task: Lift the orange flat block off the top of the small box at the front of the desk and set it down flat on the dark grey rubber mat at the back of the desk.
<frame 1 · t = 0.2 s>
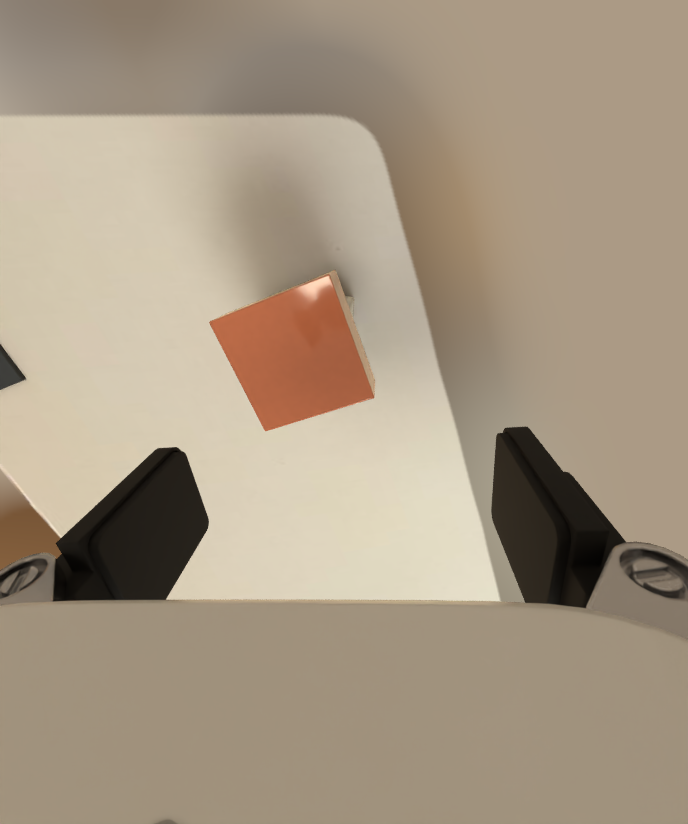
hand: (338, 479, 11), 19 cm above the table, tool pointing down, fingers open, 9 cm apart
orange flat block: (303, 347, 24), point 5 cm above the table
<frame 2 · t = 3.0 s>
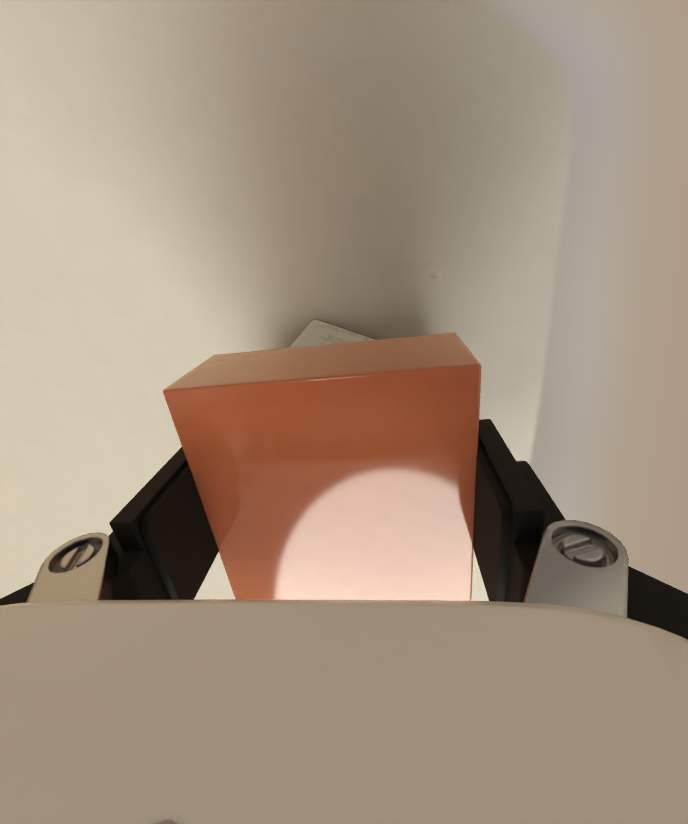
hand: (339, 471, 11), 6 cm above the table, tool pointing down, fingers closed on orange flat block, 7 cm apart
orange flat block: (343, 449, 12), point 5 cm above the table, touching gripper, small box
small box: (353, 392, 17), on the table, touching orange flat block
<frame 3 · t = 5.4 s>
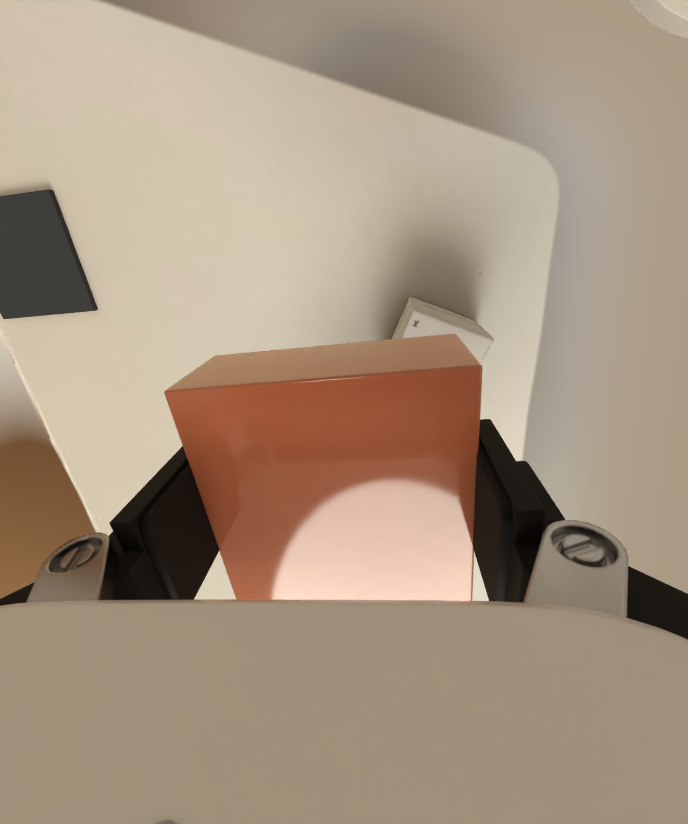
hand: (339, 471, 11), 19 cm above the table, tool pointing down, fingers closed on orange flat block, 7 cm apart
orange flat block: (344, 450, 12), point 18 cm above the table, touching gripper
small box: (427, 342, 28), on the table
mat: (28, 259, 28), on the table
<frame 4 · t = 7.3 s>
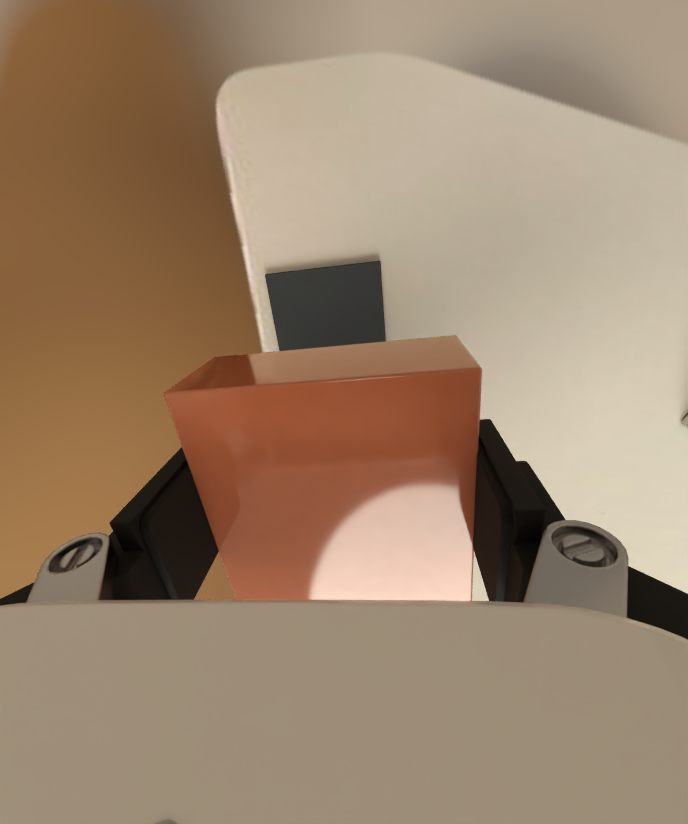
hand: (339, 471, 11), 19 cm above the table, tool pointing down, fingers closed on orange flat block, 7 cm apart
orange flat block: (343, 451, 12), point 17 cm above the table, touching gripper
mat: (329, 325, 28), on the table
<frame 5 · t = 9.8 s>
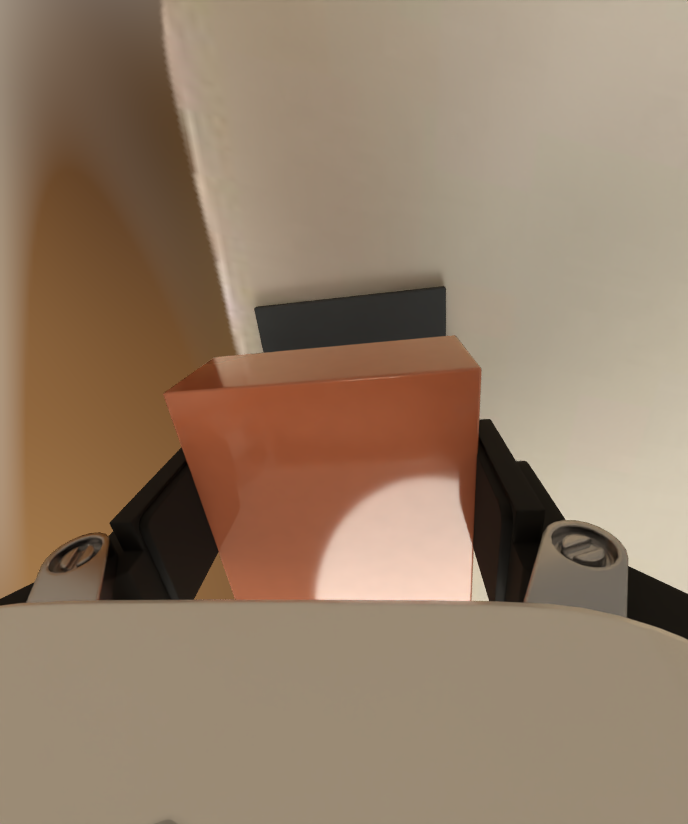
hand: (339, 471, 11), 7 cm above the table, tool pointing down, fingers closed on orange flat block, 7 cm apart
orange flat block: (343, 451, 12), point 6 cm above the table, touching gripper
mat: (356, 385, 18), on the table
when the fingers open (2 cm above the table, at t = 11.9 s): orange flat block stays where it is, resting on mat.
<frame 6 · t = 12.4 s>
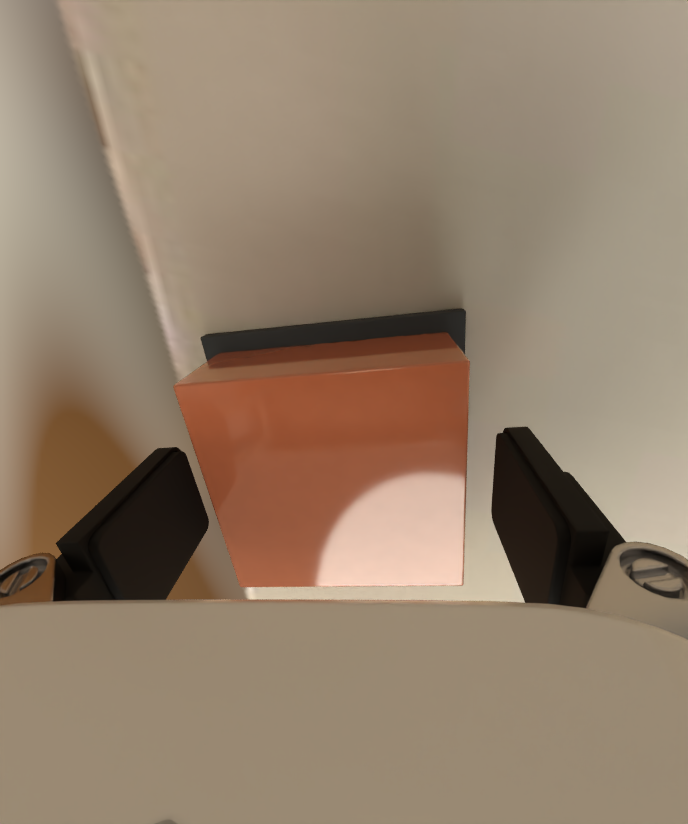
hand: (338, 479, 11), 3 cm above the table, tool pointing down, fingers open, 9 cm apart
orange flat block: (342, 443, 13), resting on mat
mat: (343, 436, 13), on the table
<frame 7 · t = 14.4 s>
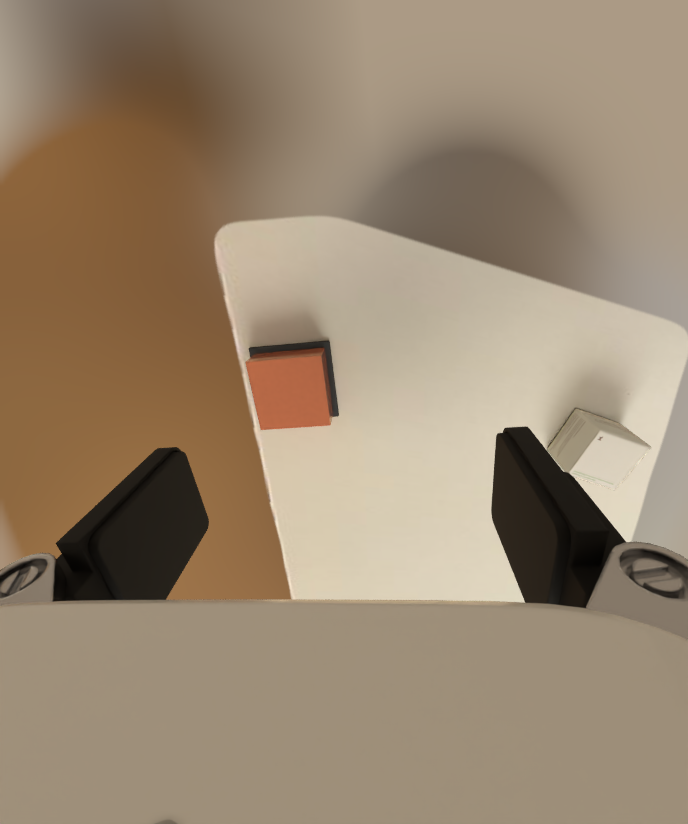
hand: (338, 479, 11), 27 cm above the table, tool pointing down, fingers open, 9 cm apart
orange flat block: (294, 384, 39), resting on mat
small box: (581, 436, 40), on the table
mat: (295, 382, 39), on the table
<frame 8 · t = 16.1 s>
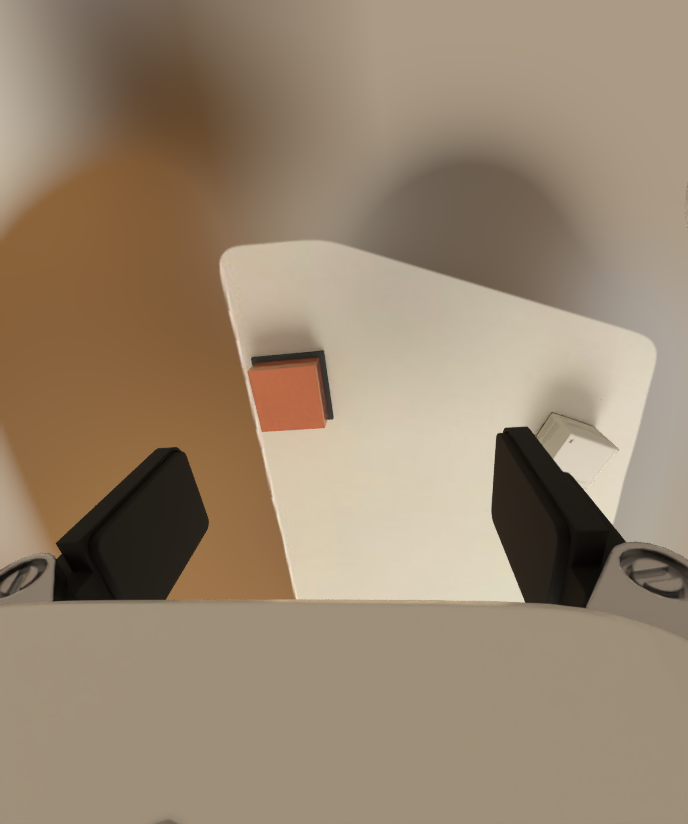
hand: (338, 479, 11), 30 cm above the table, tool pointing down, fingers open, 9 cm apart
orange flat block: (293, 390, 43), resting on mat
small box: (558, 438, 43), on the table
mat: (293, 388, 43), on the table
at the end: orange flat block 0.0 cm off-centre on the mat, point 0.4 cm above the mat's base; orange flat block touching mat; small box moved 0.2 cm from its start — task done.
